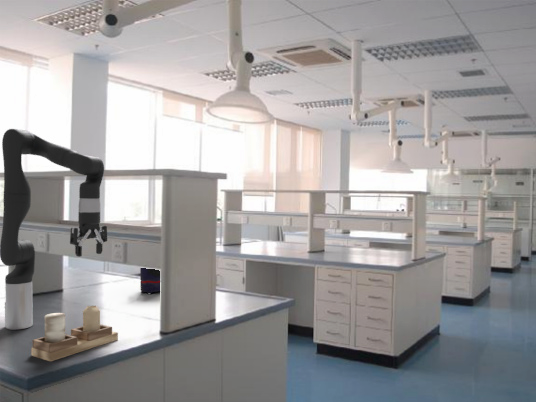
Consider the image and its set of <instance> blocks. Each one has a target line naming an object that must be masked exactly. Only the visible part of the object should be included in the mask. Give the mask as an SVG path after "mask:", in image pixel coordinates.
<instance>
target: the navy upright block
mask: <svg viewBox="0 0 536 402" xmlns="http://www.w3.org/2000/svg"><path fill="white" fill-rule="evenodd" d="M139 269H140V270H139V271H140V277H139V278H140V292H141V293H152V294H153V293H157V292H158V293H159V292H161V291H160V271H159V270H155V269H146V268H139Z"/></svg>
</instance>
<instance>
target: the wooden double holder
mask: <svg viewBox="0 0 536 402" xmlns="http://www.w3.org/2000/svg"><path fill="white" fill-rule="evenodd" d="M118 340H119V332H116V331H113V327H112V326H110V325H106V324H101V323H100V330H96V331H93V332H86V331H83V325H82V326H78V327H75V328H71V329H70V334H66V314H65V313H64V312H53V313H48V314H45V315H44V336H42V337H39V338H35V339H32V340H31V341H32V342H31V343H32V347H31V356H32V357H35V358H37V359H41V360H44V361H48V362H53V361H57V360H59V359H63V358H66V357H69V356H72V355H75V354H77V353H81V352H85V351H87V350H90V349H93V348H96V347H100V346H102V345H105V344H108V343H113V342H115V341H118Z"/></svg>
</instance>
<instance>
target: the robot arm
mask: <svg viewBox="0 0 536 402" xmlns="http://www.w3.org/2000/svg"><path fill="white" fill-rule="evenodd" d="M2 136H3V137H2V143H1V144H2V145H1V149H2V158H3V159H2V160H3V170H4V171H3V180H4V181H3V200H2V201H3V217H2V218H3V219H2V230H1V236H0V237H1V239H0V260H1V262H2V264H3V265H5V266H8V267H9V266H10V267H11V266H15V267H14V269H13V270H12V271H11V272H9V273H8V274H7V275H5V279H4V280H5V282H4V283H5V287H4V289H5V302H4V316H5V317H4V327H5V329H7V330H14V331H15V330H16V331H17V330H24V329H27V328H31V327H32V326H33V324H34V323H33V322H34V321H33V320H34V317H33V316H34V315H33V314H34V311H33V309H34V308H33V276H34V274H35V261H36V250H35V249H36V248H35V246H34V244H33V242H32V241H31V240H29V239H19V233H20V227H21V225H22V223H23V222H24V219H25V218H26V216H27V215H28V213H29V210H30V209H31V202H32V190H31V186H30V184H29V181H28V179H27V176H26V175H25V172H24V169H23V165H22V155H32V156H38V157H39V156H40V157H43V158H45V159H47V160H48V161H50V162H51V163H53V164H55V165H58V166H59V167H63V168H66V169H70V170H71V171H72V172H75V173H77V174H79V175H83V176H86V177H85V181H84V182H82V183H80V184H79V195H78V196H79V200H78V213H77V215H78V218H77V219H78V220H77V221H78V224H79V225H78V227H71V228H70V233H69V234H70V237H69V238H70V239H69V244H70V245H74V246H75V247H74V253H75V255H76V257H82V255H83V250H82V249H83V243H84V242H85V241H86V240H89V239H93V240H94V241H95V242H96V244H95V248H96V249H95V250H96V251H95V253H96V254H97V255H101V254H102V253H103V244H104V243H105V242H108V226H106V225H100V224H101V198H100V197H101V185H102V181H103V177H104V173H105V165H104V161H103V159H101V158H100V157H98V156H94V155H93V156H91V155H84V154H82V153H79V152H78V151H77V150H74V149H71V148H68V147H66V146H62V145H59V144H56V143H54V142H53V143H52V142H49V141H47V140H45V139H43V138H42V137H40V136H38V135H36V134H35V133H33V132H30V131H28V130H24V129H18V128H9V129H7V130H6V131H5V132H4V134H3V135H2ZM99 232H100V233H99Z"/></svg>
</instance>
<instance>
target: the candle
mask: <svg viewBox="0 0 536 402" xmlns="http://www.w3.org/2000/svg"><path fill="white" fill-rule="evenodd" d="M100 324H101V310H100V308H99V307H98V306H96V305H91V306H90V305H87V306H86V307H85V308H84V309H83V311H82V326H83V331H86V332H93V331H96V330H100Z"/></svg>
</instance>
